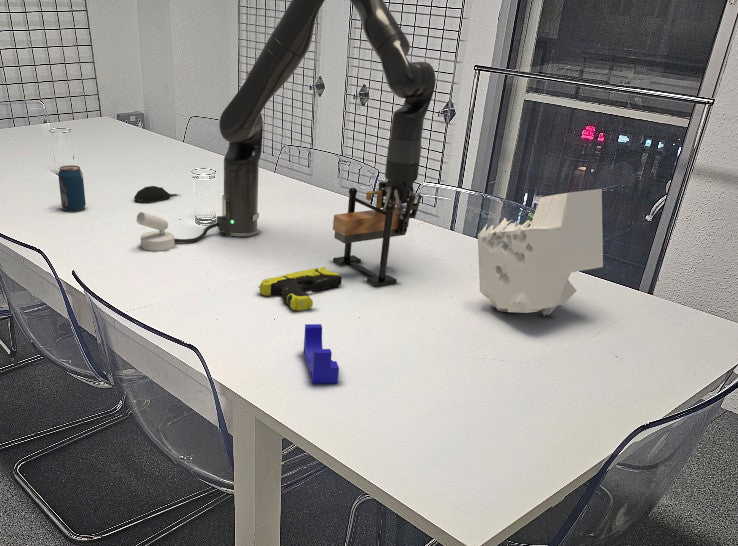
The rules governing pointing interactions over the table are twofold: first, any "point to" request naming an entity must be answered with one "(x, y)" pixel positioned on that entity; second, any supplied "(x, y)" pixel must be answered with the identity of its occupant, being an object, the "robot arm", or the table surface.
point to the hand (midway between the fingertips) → (394, 230)
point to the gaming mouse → (152, 194)
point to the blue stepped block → (318, 357)
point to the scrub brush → (364, 223)
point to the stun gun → (300, 286)
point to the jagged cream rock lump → (541, 253)
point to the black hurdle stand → (354, 260)
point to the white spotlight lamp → (155, 233)
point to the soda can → (71, 188)
